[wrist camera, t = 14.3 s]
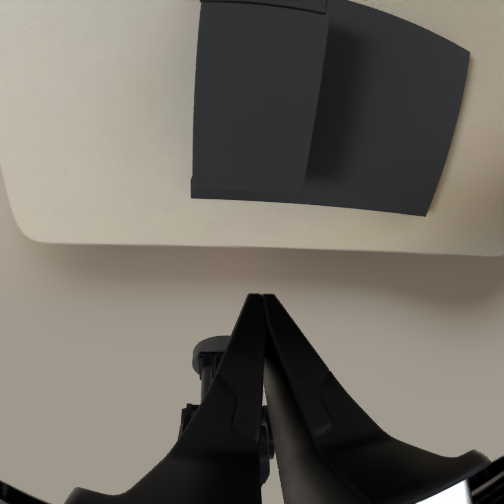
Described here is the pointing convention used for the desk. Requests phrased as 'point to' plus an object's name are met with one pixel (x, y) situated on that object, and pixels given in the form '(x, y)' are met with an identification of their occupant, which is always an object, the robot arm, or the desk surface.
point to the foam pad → (256, 96)
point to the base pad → (374, 112)
